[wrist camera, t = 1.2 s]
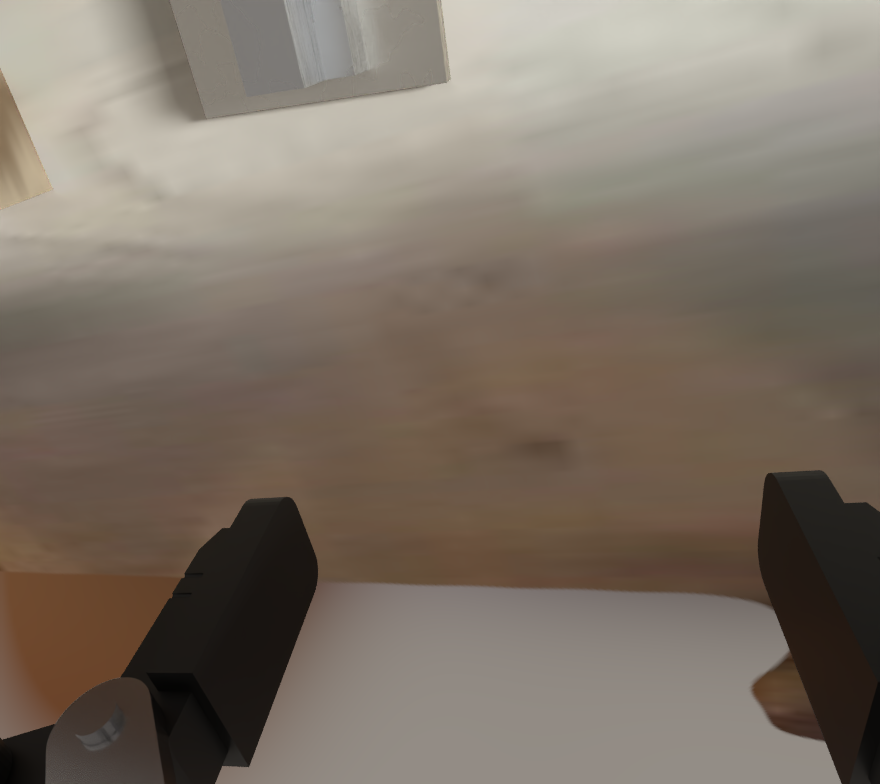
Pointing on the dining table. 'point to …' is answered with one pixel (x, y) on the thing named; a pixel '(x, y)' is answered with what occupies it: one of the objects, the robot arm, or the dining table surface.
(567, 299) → the dining table surface
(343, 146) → the dining table surface
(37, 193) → the beech batten
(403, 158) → the dining table surface
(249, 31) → the ridge
